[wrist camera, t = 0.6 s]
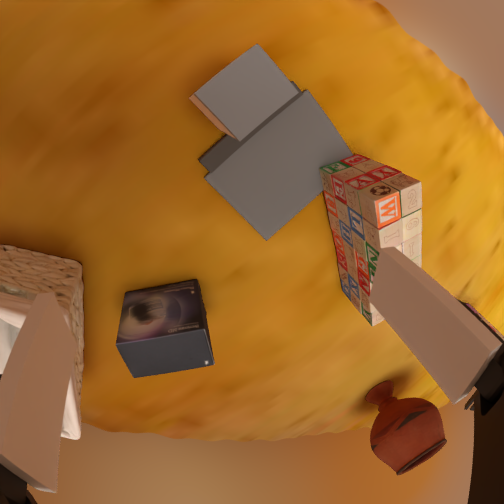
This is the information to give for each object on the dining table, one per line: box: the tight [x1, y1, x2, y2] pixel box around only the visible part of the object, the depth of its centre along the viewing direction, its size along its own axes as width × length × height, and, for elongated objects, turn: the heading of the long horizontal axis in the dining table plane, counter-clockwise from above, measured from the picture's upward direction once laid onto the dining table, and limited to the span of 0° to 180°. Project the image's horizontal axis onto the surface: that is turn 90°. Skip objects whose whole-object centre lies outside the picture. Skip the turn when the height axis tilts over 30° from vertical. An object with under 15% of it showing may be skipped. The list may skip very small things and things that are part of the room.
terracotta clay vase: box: [365, 380, 447, 475], centre depth 59 cm, size 19×19×25 cm
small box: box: [116, 279, 215, 378], centre depth 36 cm, size 11×6×10 cm, turn 96°
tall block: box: [189, 44, 299, 141], centre depth 25 cm, size 5×6×12 cm
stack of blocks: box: [319, 154, 422, 326], centre depth 36 cm, size 21×6×12 cm, turn 18°
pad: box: [198, 81, 353, 241], centre depth 34 cm, size 14×16×1 cm
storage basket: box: [0, 245, 84, 440], centre depth 30 cm, size 24×16×15 cm
